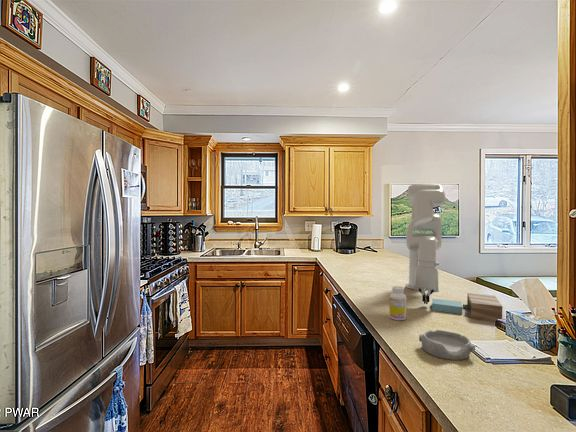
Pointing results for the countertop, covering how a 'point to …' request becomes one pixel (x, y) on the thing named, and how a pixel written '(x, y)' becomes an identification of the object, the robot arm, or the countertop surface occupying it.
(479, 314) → the shelf dock
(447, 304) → the pale blue foam block
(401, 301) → the supplement bottle
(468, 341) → the dish
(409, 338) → the countertop surface
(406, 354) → the countertop surface
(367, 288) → the countertop surface
